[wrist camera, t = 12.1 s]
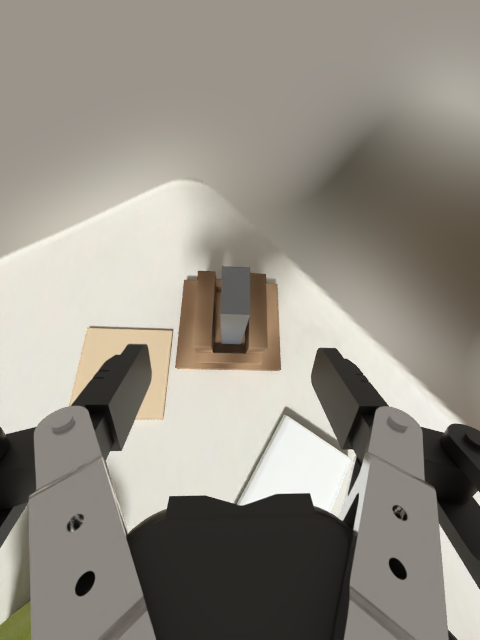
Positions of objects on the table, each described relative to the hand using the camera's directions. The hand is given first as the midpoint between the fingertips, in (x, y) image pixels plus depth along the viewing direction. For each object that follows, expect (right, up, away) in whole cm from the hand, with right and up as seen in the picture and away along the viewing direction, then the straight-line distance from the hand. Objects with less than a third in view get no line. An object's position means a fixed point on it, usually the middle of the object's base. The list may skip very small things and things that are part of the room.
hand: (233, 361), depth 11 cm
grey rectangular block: (-1, +1, +17) cm, 17 cm away
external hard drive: (+5, -16, +14) cm, 22 cm away
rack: (-1, +1, +18) cm, 18 cm away
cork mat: (-13, -4, +15) cm, 21 cm away
